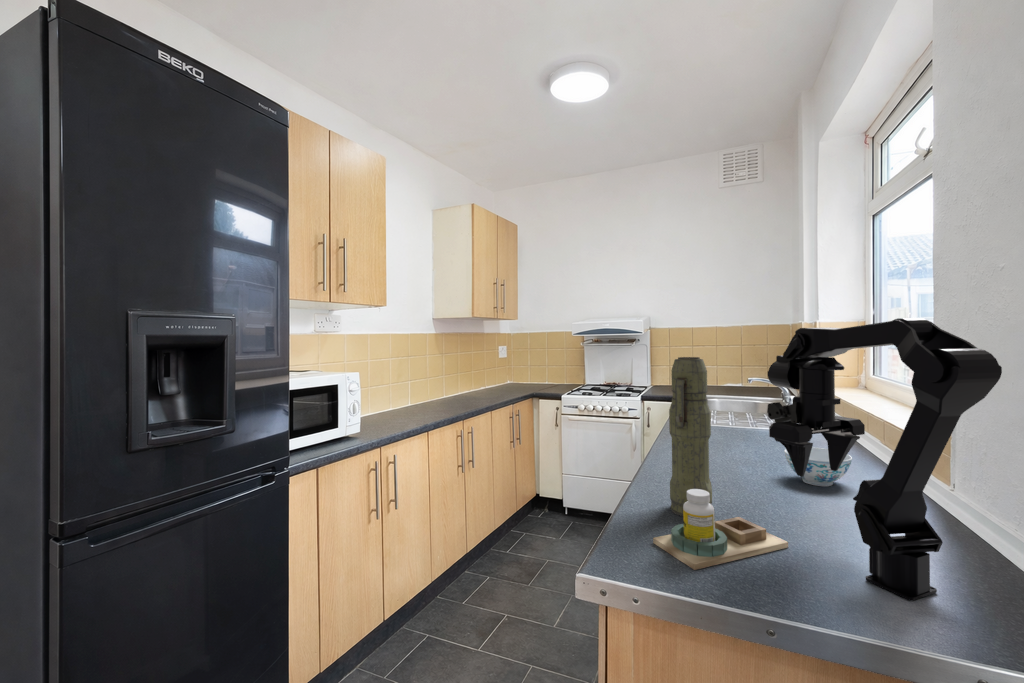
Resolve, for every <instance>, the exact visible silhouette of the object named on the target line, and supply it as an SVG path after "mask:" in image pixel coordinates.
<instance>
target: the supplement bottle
mask: <svg viewBox="0 0 1024 683" xmlns="http://www.w3.org/2000/svg"><path fill="white" fill-rule="evenodd" d="M687 500H688V501H687V502H685V503H684V505H683V524H684V538H686V539H689V540H692V541H696V542H708V543H709V542H713V541H715V521H716V520H715V508H714V506H713V504H710V503H709V502H710V494H709V492H707V491H705V490H701V489H690V490H687Z"/></svg>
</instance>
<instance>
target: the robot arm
mask: <svg viewBox="0 0 1024 683" xmlns="http://www.w3.org/2000/svg"><path fill="white" fill-rule="evenodd" d="M794 333H795V334H794V335H793V336H792V337H791V339H790V342H789V343H788V345H787V346H786V349H785V351H784V352H783V353H782V354H781V355H776V358H775V359H776V361H774V362H773V363H772V364H770V365H769V367H768V368H769V369H768V370H767V378H768V380H769V382H770V383H771V384H772V385H773V386H775V387H778V388H779V387H780V388H783V389H791V390H796V391H797V390H798V393H799V394H798V396H793V398H792V404H787V405H783V404H782V403H781V402H771V403H767V409H766V414H767V417H768V419H770V420H772V421H773V420H774V422H772V424H770V425H769V426H768V432H769V433H768V435H769V436H768V437H769V438H772V439H774V441H775V442H777V443H780V444H781V445H782V446H783V447H784V448H785V449H786V450H787V452H788V454H789V456H790V458H791V461H792V463H793V466H794V468H795V471H796V476H798V477H800V476H801V477H800V478H802V477H803V476H804V474H805V471H806V468H807V464H808V461H809V457H810V453H811V450H812V447H814V446H813V445H814V442H811V440H812V438H813V435H817V434H821V436H822V437H823V438H824V439H825V440H826V443H827V449H828V454H829V463H830V468H831V470H834V471H837V470H838V469H839V467H840V465H841V464H842V462H843V460H844V459H845V457H846V455H847V454H848V455H849V452H850V451H851V449H852V448H853V446H854V445H855V444H856V442H857V441H858V440H860V439H861V436H862V435H865V434H866V433H865V428H866V427H865V423H864V422H863V421H862V420H861V419H858V418H853V417H846V416H839V415H836V405H841V398H837V397H836V395H835V392H836V389H835V387H836V386H835V381H836V380H835V377H836V376H835V372H836V371H844V370H845V366H844V365H843V364H841V362H839V361H838V360H837V359H836V358H835V357H836V356H840V355H843V354H846V353H847V352H849V351H852V350H853V349H855V350H856V349H865V348H875V347H887V346H894V347H895V348H896V349H897V351H898V356H899V357H900V361H901V362H902V363H903V364H904V365H905V366H907V367H908V368H909V369H910V370H911V371H912V372H913V374H912V378H911V387H912V390H913V393H914V397H915V404H914V406H913V409H912V411H911V413H910V415H909V418H908V420H907V422H906V424H905V427H904V429H903V432H902V434H901V435H900V438H899V439H898V442H897V445H896V447H895V449H894V451H893V453H892V455H891V457H890V460H889V462H888V464H887V467H886V468H885V471H884V472H883V476H882V477H881V478H880V479H864V480H862V481H861V483H859V488H858V491H857V493H856V495H855V496H854V497H852V500H853V501H855V503H854V507H853V510H854V511H853V512H854V515H855V520H856V522H857V525H858V529H859V533H860V536H861V540H862V542H863V543H864V544H865V545H868V546H869V549H868V561H869V562H868V564H869V565H868V567H869V568H868V569H869V574H870V575H866V576H865V581H867V582H869V583H871V584H873V585H876V586H878V587H879V588H882V589H885V590H887V591H888V592H891V593H892V594H894V595H898V596H900V597H901V598H904V599H907V600H908V601H916V600H919V599H922V598H925V597H927V596H930V595H933V594H936V593H937V592H938V589H937V588H936V587H934V586H931V570H930V569H931V562H930V561H931V555H930V553H932V552H933V553H938V552H940V550H941V547H942V545H943V539H941V537H940V535H939V534H938V533H937V532H936V531H935V529H934V528H933V526H932V525H931V524H930V522H929V521H928V519H927V518H926V514H927V511H928V506H927V503H926V500H925V497H924V490H925V488H926V486H927V484H928V481H929V479H930V478H931V476H932V474H933V471H934V470H935V468H936V466H937V464H938V462H939V459H941V456H942V454H943V451H944V450H945V448H946V447H947V446H946V445H948V444H947V443H948V442H949V440H950V438H951V436H952V434H953V432H954V430H955V428H956V426H957V424H958V422H959V420H960V418H961V416H962V415H963V414H964V413H965V412H967V411H968V410H969V409H971V408H972V407H974V406H975V405H976V404H978V403H979V402H981V401H983V400H984V399H985V398H986V397H987V396H988V394H989V393H991V391H992V390H993V389H994V387H995V386H996V385H997V383H998V382H999V380H1000V379H1001V376H1002V372H1003V371H1002V370H1003V368H1002V366H1001V365H999V362H998V359H997V358H996V357H995V356H994V355H993V354H992V353H990V352H989V351H987V350H985V349H982V348H978V347H977V346H975V345H974V344H972V343H971V342H970V341H968V340H966V339H963V337H959V336H957V335H955V334H953V333H950V332H949V331H946V330H944V329H941V328H940V327H939V326H938V325H936V324H935V323H933V321H930V320H929V319H925V318H924V317H922V318H921V317H906V318H903V317H901V318H899V317H898V318H895V319H893V320H889V321H888V320H887V321H883V322H875V323H870V324H863V325H862V324H861V325H856V326H850V327H849V326H848V327H800V328H798V329H796V330H795V331H794ZM899 534H902V535H899ZM903 534H904V535H903ZM891 535H893V536H891ZM894 535H895V536H894Z"/></svg>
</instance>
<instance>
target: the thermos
mask: <svg viewBox="0 0 1024 683" xmlns="http://www.w3.org/2000/svg"><path fill="white" fill-rule="evenodd" d="M670 371H671V373H670V374H671V378H670V379H671V392H672V397H671V404H670V407H669V409H668V410H669V411H668V414H669V416H668V418H669V420H668V422H669V423H668V424H669V425H668V426H669V435H670V437H671V477H670V480H669V499H670V511H671V510H672V511H671V512H672V513H674V514H675V515H676V516H679V515H680V517H682V516H683V505H684V503H685V502H687V501H688V500H687V490H690V489H701V490H705V491H707V492H709V494H710V502H709V503H710V504H711V505H713V504H712V503H713V488H712V481H711V478H710V438H711V436H712V425H711V424H712V423H711V422H712V421H711V420H712V418H711V415H712V414H711V409H710V406H709V402H708V398H707V393H708V370H707V367H706V363H705V361H704V359H703V358H700V357H698V356H683V357H682V356H681V357H679V356H678V357H677V358H675V359H674V361H673V364H672V367H671V370H670Z"/></svg>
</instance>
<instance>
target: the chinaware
mask: <svg viewBox="0 0 1024 683" xmlns="http://www.w3.org/2000/svg"><path fill="white" fill-rule="evenodd" d="M784 456H785V459H786V462H787V464H788V466H789V467H790V468H791V470H792V471H793V472H794V473H796V471H795V468H794V466H793V463H792V461H791V458H790V456H789V454H788V452H787V450H786V448H785V449H784ZM852 460H853V457H852V456H851V455H850V454H849V453H848V454H847V455H846V457H845V459H844V460H843V462H842V464H841V465H840V467H839V469H838V470H837V471H834V470H831V468H830V463H829V454H828V448H822V447H814V446H812V450H811V453H810V457H809V461H808V464H807V468H806V471H805V474H804V476H803V477H801V476H799V477H800V478H802V481H803V483H804V484H805V483H806V484H809V485H813V486H817V487H830V486H833V484H834V482H836V481H838V480H840V479H841V478H843V477H844V476H845V475H846V474H847V473H848V472H849V470H850V467H851V465H852Z"/></svg>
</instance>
